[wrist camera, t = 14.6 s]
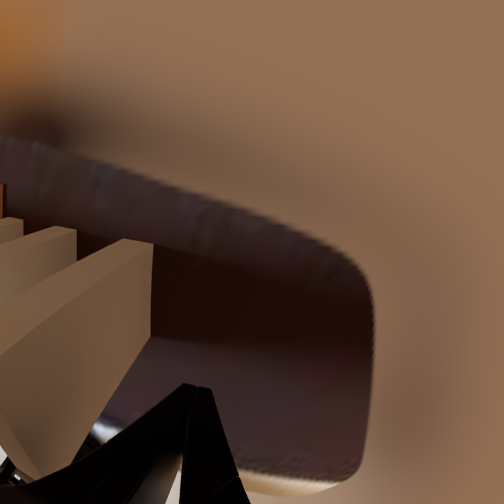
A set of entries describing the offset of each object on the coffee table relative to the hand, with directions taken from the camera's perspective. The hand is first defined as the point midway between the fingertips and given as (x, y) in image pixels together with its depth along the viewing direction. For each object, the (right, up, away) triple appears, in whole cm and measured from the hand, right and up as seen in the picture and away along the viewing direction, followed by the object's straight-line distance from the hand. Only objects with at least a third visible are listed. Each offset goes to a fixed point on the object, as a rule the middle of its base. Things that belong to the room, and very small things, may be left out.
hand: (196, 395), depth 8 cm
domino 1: (-4, +2, +6) cm, 7 cm away
